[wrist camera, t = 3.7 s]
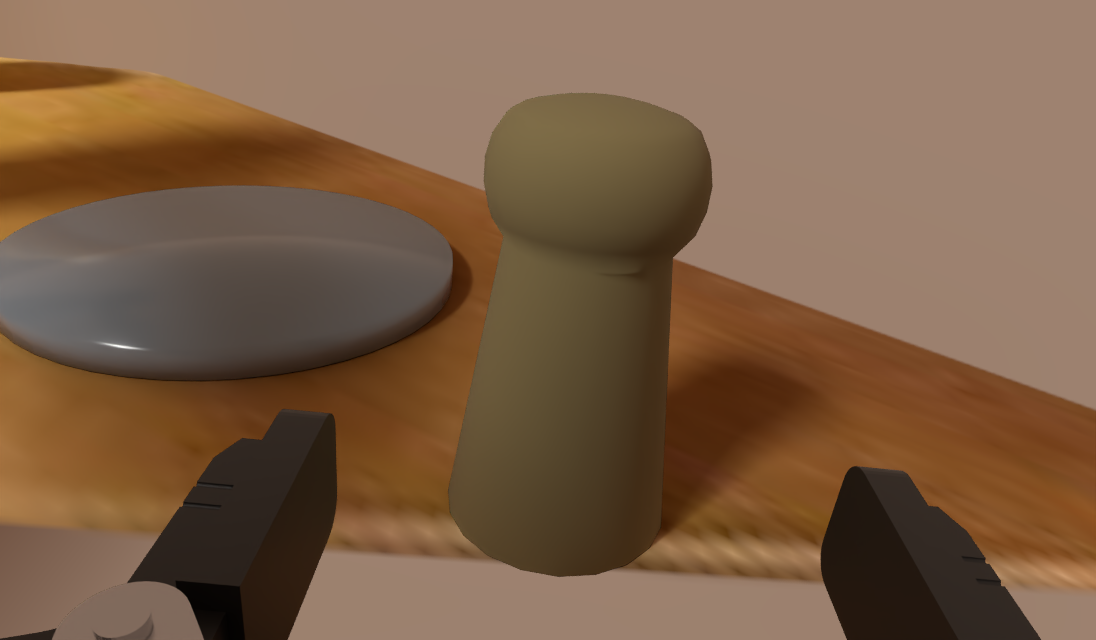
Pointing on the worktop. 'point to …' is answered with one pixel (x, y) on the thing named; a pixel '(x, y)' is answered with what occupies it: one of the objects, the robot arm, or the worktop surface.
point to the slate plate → (220, 282)
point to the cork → (577, 331)
